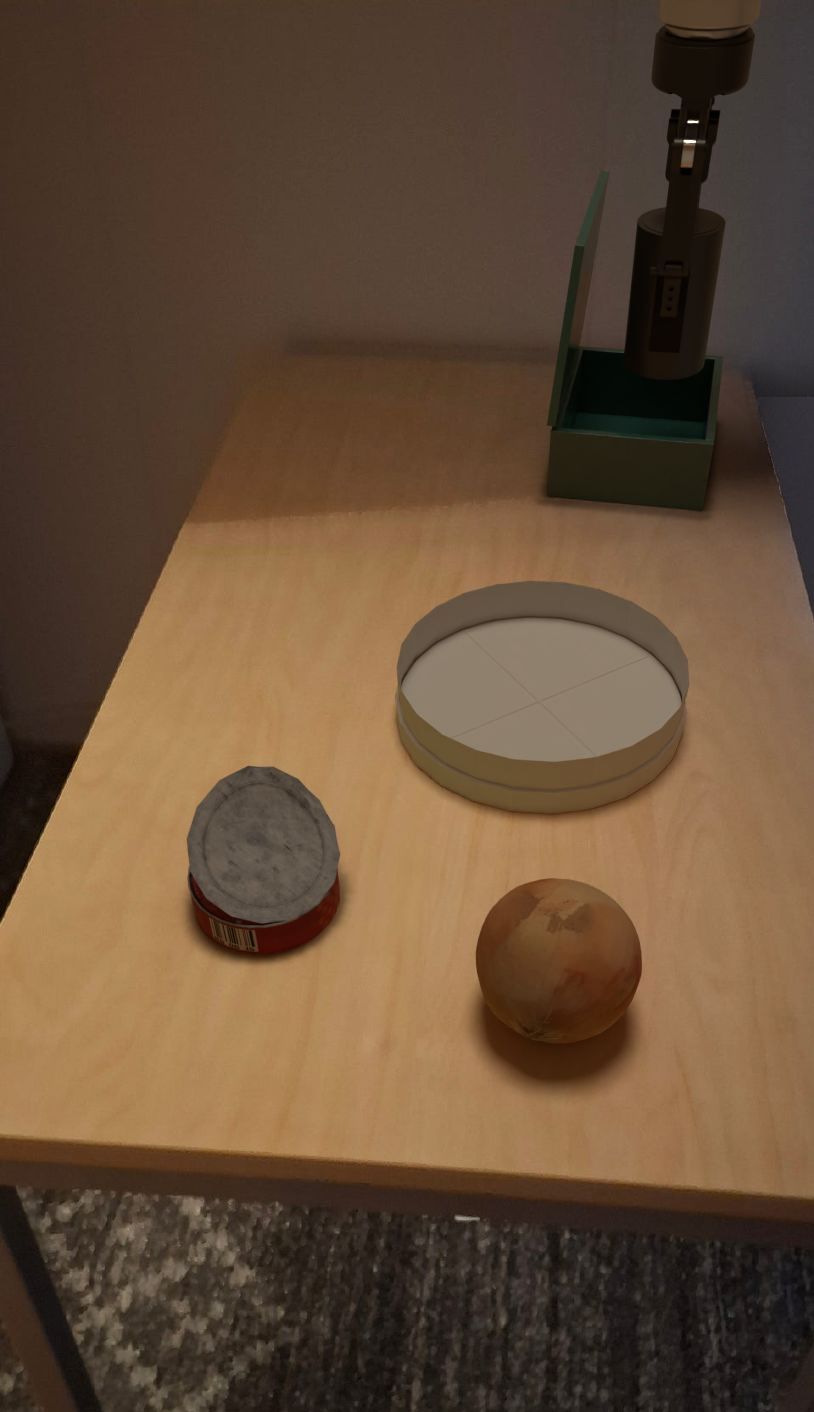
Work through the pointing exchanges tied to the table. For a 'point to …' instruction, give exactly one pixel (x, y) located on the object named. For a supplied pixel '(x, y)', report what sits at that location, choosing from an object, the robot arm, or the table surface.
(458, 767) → the dish
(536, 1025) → the onion
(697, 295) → the gray cylinder
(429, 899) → the table surface
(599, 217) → the lid
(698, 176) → the robot arm
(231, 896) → the canned food
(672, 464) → the green box
